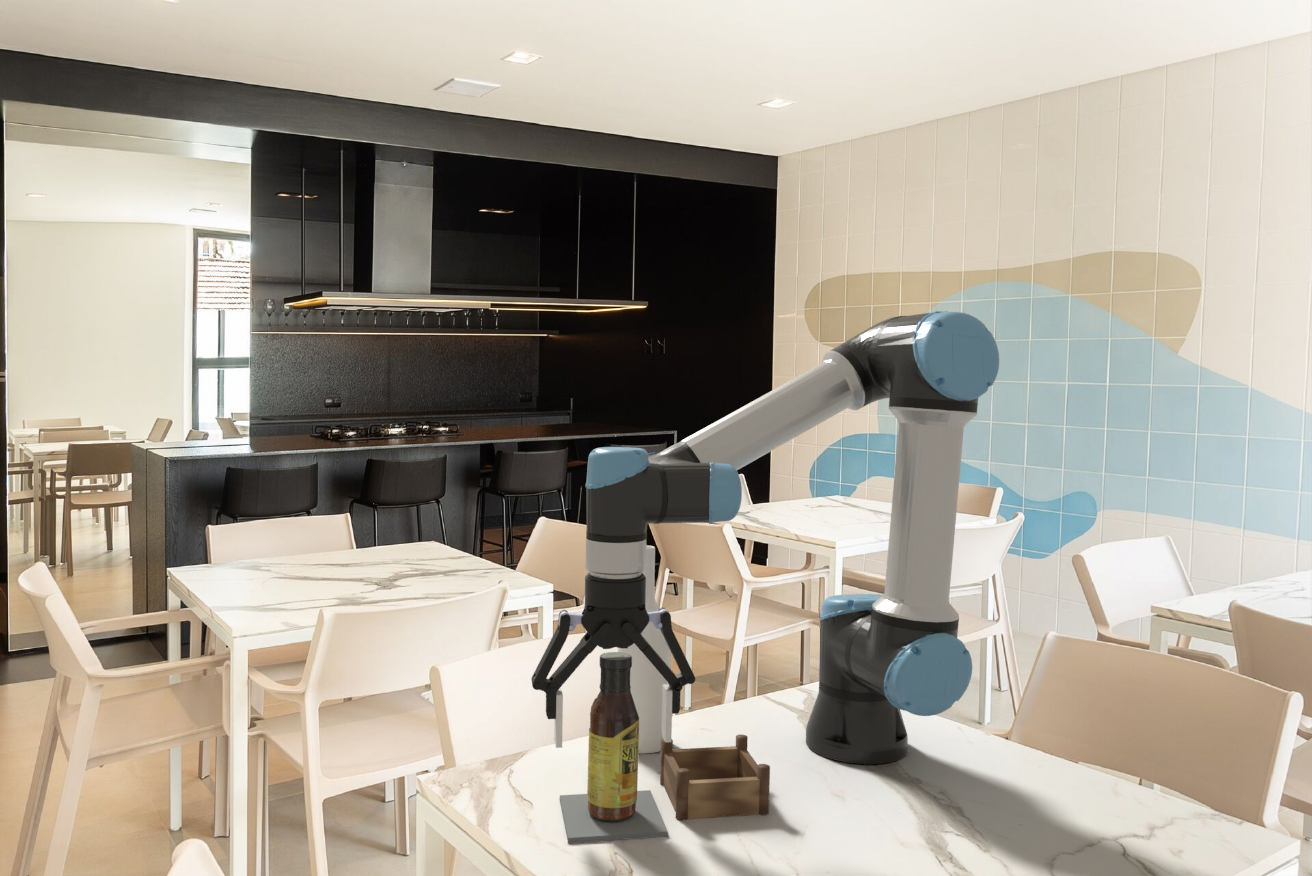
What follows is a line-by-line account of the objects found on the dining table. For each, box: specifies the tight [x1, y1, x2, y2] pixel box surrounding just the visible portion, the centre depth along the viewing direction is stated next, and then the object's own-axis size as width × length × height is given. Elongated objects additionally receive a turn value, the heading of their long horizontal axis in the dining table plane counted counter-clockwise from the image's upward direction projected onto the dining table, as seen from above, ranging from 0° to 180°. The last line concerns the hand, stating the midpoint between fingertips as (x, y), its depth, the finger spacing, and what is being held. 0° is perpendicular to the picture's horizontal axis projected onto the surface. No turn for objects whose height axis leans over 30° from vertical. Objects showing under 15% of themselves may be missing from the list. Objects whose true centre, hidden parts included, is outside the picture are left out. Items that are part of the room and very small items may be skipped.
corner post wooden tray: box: [659, 734, 771, 821], centre depth 129 cm, size 12×12×6 cm
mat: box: [559, 789, 669, 844], centre depth 122 cm, size 12×12×1 cm
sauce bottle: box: [586, 651, 639, 821], centre depth 122 cm, size 6×6×20 cm
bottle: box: [616, 545, 672, 754], centre depth 146 cm, size 8×8×30 cm
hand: (612, 741), depth 122 cm, fingers open, 13 cm apart
